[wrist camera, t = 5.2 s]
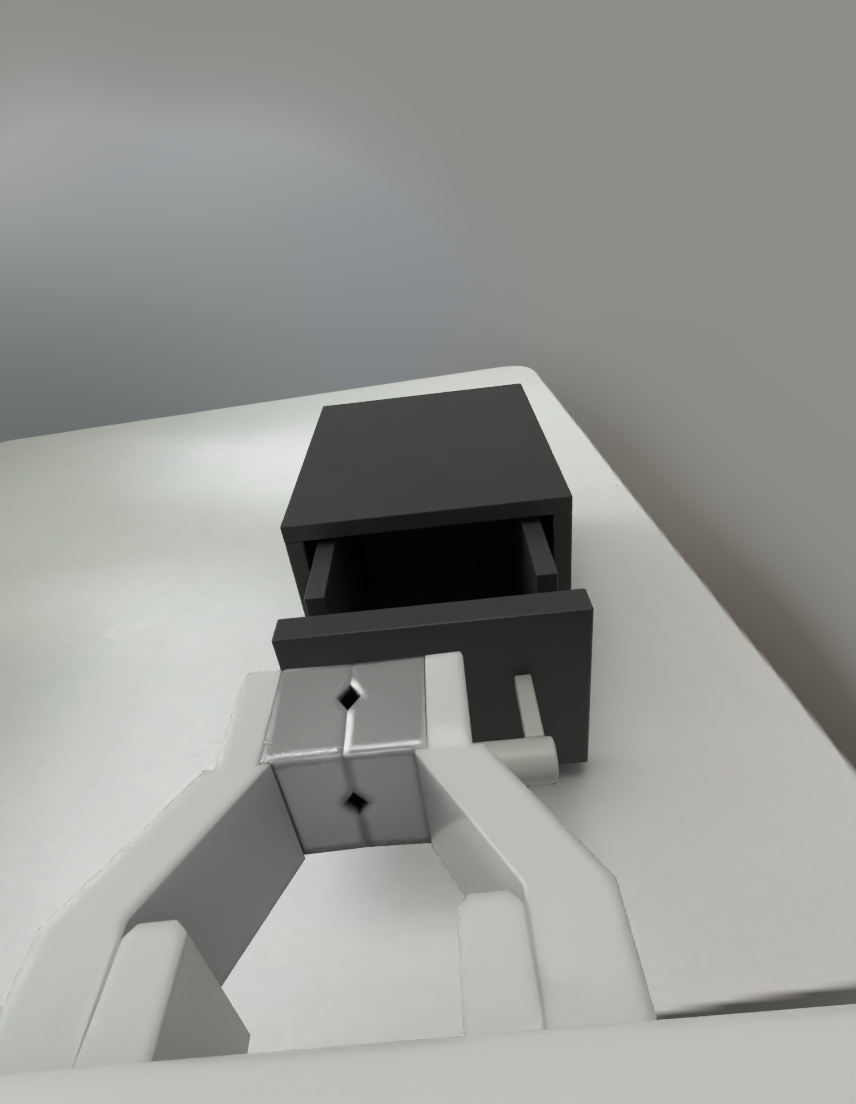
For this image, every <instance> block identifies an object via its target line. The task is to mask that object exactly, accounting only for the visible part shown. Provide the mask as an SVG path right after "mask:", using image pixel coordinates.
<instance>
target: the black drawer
mask: <svg viewBox="0 0 856 1104" xmlns="http://www.w3.org/2000/svg"><path fill="white" fill-rule="evenodd" d="M304 602H305V606H306V609H307V613H308V616H309V617H299V618H289V619H279V620H278V621H277V624H276V628H275V631H274V634H273V638H272V644H273V647H274V650H275V653H276V656H277V659H278V662H279V665H280V668H281V671H283V670H285V669H296V668H309V667H321V666H334V665H347V664H357V663H366V662H375V661H384V660H393V659H402V658H411V657H420V656H426V655H433V654H441V653H449V652H458V651H460V652H461V653H462V655H463V663H464V672H465V681H466V690H467V699H468V708H469V717H470V726H471V735H472V744H485V745H486V746H487V747H488V748H489V749H490V750H491V751H492V752H493V753H494V754H495V755H496V756H497V757H498V758H499V759H500V760H501V761H502V762H503V763H504V764H505V765H506V766H507V767H508V768H509V769H510V770H511V771H512V773H513V774H514V775H515V776H516V777H517V778H518V779H519V780H520V781H521V782H522V783H523V784H524V785H525V786H529V785H540V784H551V783H557V782H558V780H559V766H558V764H569V763H581V762H587V760H588V737H589V711H590V685H591V659H592V632H593V607H592V604H591V602H590V599H589V597H588V594H587V592H586V589H575V590H565V591H558V572H557V569H556V566H555V563H554V560H553V557H552V554H551V551H550V548H549V546H548V543H547V540H546V537H545V534H544V531H543V528H542V525H541V522H540V519H539V516H533V517H524V518H514V519H505V520H496V521H486V522H477V523H468V524H458V525H449V526H440V527H430V528H421V529H412V530H402V531H393V532H384V533H374V534H365V535H356V536H346V537H337V538H328V539H318V544H317V548H316V552H315V556H314V560H313V564H312V568H311V572H310V576H309V580H308V584H307V588H306V592H305V596H304Z"/></svg>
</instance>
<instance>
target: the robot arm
mask: <svg viewBox="0 0 856 1104" xmlns="http://www.w3.org/2000/svg"><path fill="white" fill-rule="evenodd" d="M420 843H432V847H433V848H434V850H435V851H436V853H437V854H438V856H439V857H440V859H441V860H442V862H443V863H444V865H445V866H446V868H447V869H448V871H449V873H450V874H451V876H452V877H453V879H454V880H455V882H456V883H457V885H458V886H459V888H460V889H461V891H462V892H463V894H464V895H465V897H466V898H465V899H464V900H463V902H462V903H461V904H460V905H459V907H458V908H457V910H458V929H459V949H460V968H461V987H462V1007H463V1026H464V1036H456V1037H444V1038H432V1039H420V1040H408V1041H395V1042H383V1043H371V1044H359V1045H347V1046H334V1047H322V1048H310V1049H298V1050H286V1051H273V1052H261V1053H249V1054H247V1051H248V1045H249V1039H250V1034H249V1032H248V1030H247V1029H246V1027H245V1026H244V1024H243V1022H242V1021H241V1019H240V1017H239V1016H238V1014H237V1013H236V1011H235V1009H234V1008H233V1006H232V1004H231V1003H230V1001H229V1000H228V998H227V996H226V995H225V993H224V991H223V990H222V988H221V986H222V985H223V983H224V982H225V980H226V979H227V977H228V975H229V974H230V972H231V971H232V969H233V968H234V966H235V965H236V963H237V962H238V960H239V959H240V957H241V956H242V954H243V953H244V951H245V950H246V948H247V947H248V945H249V943H250V942H251V940H252V939H253V937H254V936H255V934H256V933H257V931H258V930H259V928H260V927H261V925H262V924H263V922H264V921H265V919H266V918H267V916H268V915H269V913H270V911H271V910H272V908H273V907H274V905H275V904H276V902H277V901H278V899H279V898H280V896H281V895H282V893H283V892H284V890H285V889H286V887H287V886H288V884H289V882H290V881H291V879H292V878H293V876H294V875H295V873H296V872H297V870H298V869H299V867H300V866H301V864H302V863H303V861H304V860H305V857H304V855H305V854H313V853H321V852H330V851H338V850H346V849H354V848H363V847H374V846H389V845H405V844H420ZM0 1104H856V1004H852V1005H851V1004H850V1005H838V1006H825V1007H813V1008H802V1009H789V1010H777V1011H764V1012H752V1013H740V1014H728V1015H715V1016H702V1017H691V1018H678V1019H666V1020H657V1018H656V1014H655V1011H654V1007H653V1004H652V1000H651V997H650V993H649V990H648V987H647V983H646V980H645V976H644V973H643V969H642V966H641V962H640V959H639V955H638V952H637V949H636V945H635V942H634V938H633V935H632V931H631V928H630V924H629V921H628V917H627V914H626V911H625V907H624V904H623V900H622V897H621V893H620V890H619V886H618V883H617V879H616V877H615V876H614V875H613V874H612V873H611V872H610V871H609V870H608V869H607V868H606V867H605V866H604V865H603V864H602V863H601V862H600V861H599V860H598V859H597V858H596V857H595V856H594V855H593V854H592V853H591V852H590V851H589V850H588V849H587V848H586V847H585V846H584V845H583V844H582V843H581V842H580V841H579V840H578V839H577V838H576V837H575V836H574V835H573V834H572V833H571V832H570V831H569V830H568V829H567V828H566V827H565V826H564V824H563V823H562V822H561V821H560V820H559V819H558V818H557V817H556V816H555V815H554V814H553V813H552V812H551V811H550V810H549V809H548V808H547V807H546V806H545V805H544V804H543V803H542V802H541V801H540V800H539V799H538V798H537V797H536V796H535V795H534V794H533V793H532V792H531V791H530V790H529V789H528V788H527V787H526V786H525V785H524V784H523V783H522V782H521V781H520V780H519V779H518V778H517V777H516V776H515V775H514V774H513V773H512V771H511V770H510V769H509V768H508V767H507V766H506V765H505V764H504V763H503V762H502V761H501V760H500V759H499V758H498V757H497V756H496V755H495V754H494V753H493V752H492V751H491V750H490V749H489V748H488V747H487V746H486V745H485V744H472V735H471V726H470V717H469V708H468V699H467V690H466V681H465V672H464V663H463V655H462V653H461V652H460V651H458V652H449V653H441V654H433V655H426V656H420V657H411V658H402V659H393V660H384V661H375V662H366V663H357V664H347V665H334V666H321V667H309V668H296V669H285V670H283V671H268V672H254V673H249V674H248V675H247V676H246V678H245V679H244V680H243V681H242V684H241V687H240V691H239V694H238V697H237V700H236V703H235V707H234V710H233V713H232V716H231V719H230V723H229V726H228V729H227V732H226V735H225V738H224V742H223V745H222V748H221V751H220V754H219V758H218V761H217V764H216V767H215V769H214V770H206V771H203V772H202V773H201V774H200V775H199V776H198V777H196V778H195V779H194V780H193V781H192V782H191V783H190V784H189V785H188V786H187V787H186V788H185V789H184V790H183V791H182V792H181V793H180V794H179V795H178V796H177V797H176V798H175V799H174V800H172V801H171V802H170V803H169V804H168V805H167V806H166V807H165V808H164V809H163V810H162V811H161V812H160V813H159V814H158V815H157V816H156V817H155V818H154V819H153V820H152V821H151V822H150V823H148V824H147V825H146V826H145V827H144V828H143V829H142V830H141V831H140V832H139V833H138V834H137V835H136V836H135V837H134V838H133V839H132V840H131V841H130V842H129V843H128V844H127V845H126V846H124V847H123V848H122V849H121V850H120V851H119V852H118V853H117V854H116V855H115V856H114V857H113V858H112V859H111V860H110V861H109V862H108V863H107V864H106V865H105V866H104V867H103V868H102V869H100V870H99V871H98V872H97V873H96V874H95V875H94V876H93V877H92V878H91V879H90V880H89V881H88V882H87V883H86V884H85V885H84V886H83V887H82V888H81V889H80V890H79V891H78V892H76V893H75V894H74V895H73V896H72V897H71V898H70V899H69V900H68V901H67V902H66V903H65V904H64V905H63V906H62V907H61V908H60V909H59V910H58V911H57V912H56V913H55V914H54V915H52V916H51V917H50V918H49V919H48V920H47V921H46V922H45V923H44V924H43V925H42V926H41V927H40V928H39V930H38V932H37V934H36V936H35V938H34V940H33V942H32V945H31V947H30V949H29V951H28V953H27V955H26V957H25V959H24V961H23V963H22V966H21V968H20V970H19V972H18V974H17V976H16V978H15V980H14V982H13V984H12V986H11V989H10V991H9V993H8V995H7V997H6V999H5V1001H4V1003H3V1005H2V1007H1V1010H0Z"/></svg>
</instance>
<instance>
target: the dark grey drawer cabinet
mask: <svg viewBox="0 0 856 1104" xmlns="http://www.w3.org/2000/svg"><path fill="white" fill-rule="evenodd" d="M533 516H539V519H540V522H541V525H542V528H543V531H544V534H545V537H546V540H547V543H548V546H549V548H550V551H551V554H552V557H553V560H554V563H555V566H556V569H557V572H558V591H565V590H571V549H572V495H571V492H570V490H569V488H568V486H567V484H566V481H565V479H564V477H563V475H562V473H561V470H560V468H559V466H558V464H557V462H556V460H555V457H554V455H553V453H552V451H551V449H550V446H549V444H548V442H547V440H546V438H545V435H544V433H543V431H542V429H541V427H540V425H539V422H538V420H537V418H536V416H535V414H534V411H533V409H532V407H531V405H530V403H529V401H528V398H527V396H526V394H525V392H524V390H523V387H522V385H521V384H512V385H503V386H495V387H486V388H478V389H469V390H460V391H452V392H443V393H435V394H426V395H418V396H409V397H400V398H392V399H383V400H375V401H366V402H358V403H349V404H341V405H332V406H324V407H323V409H322V411H321V414H320V417H319V420H318V423H317V426H316V428H315V431H314V434H313V437H312V440H311V442H310V445H309V448H308V451H307V454H306V457H305V459H304V462H303V465H302V468H301V471H300V474H299V476H298V479H297V482H296V485H295V488H294V490H293V493H292V496H291V499H290V502H289V505H288V507H287V510H286V513H285V516H284V519H283V522H282V524H281V527H280V528H281V532H282V535H283V539H284V542H285V545H286V549H287V552H288V556H289V560H290V563H291V567H292V570H293V574H294V577H295V581H296V585H297V588H298V592H299V595H300V599H301V602H302V606H303V610H304V613H305V617H309V616H308V613H307V609H306V606H305V602H304V596H305V592H306V588H307V584H308V580H309V576H310V572H311V568H312V564H313V560H314V556H315V552H316V548H317V544H318V539H328V538H337V537H346V536H356V535H365V534H374V533H384V532H393V531H402V530H412V529H421V528H430V527H440V526H449V525H458V524H468V523H477V522H486V521H496V520H505V519H514V518H524V517H533Z"/></svg>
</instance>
